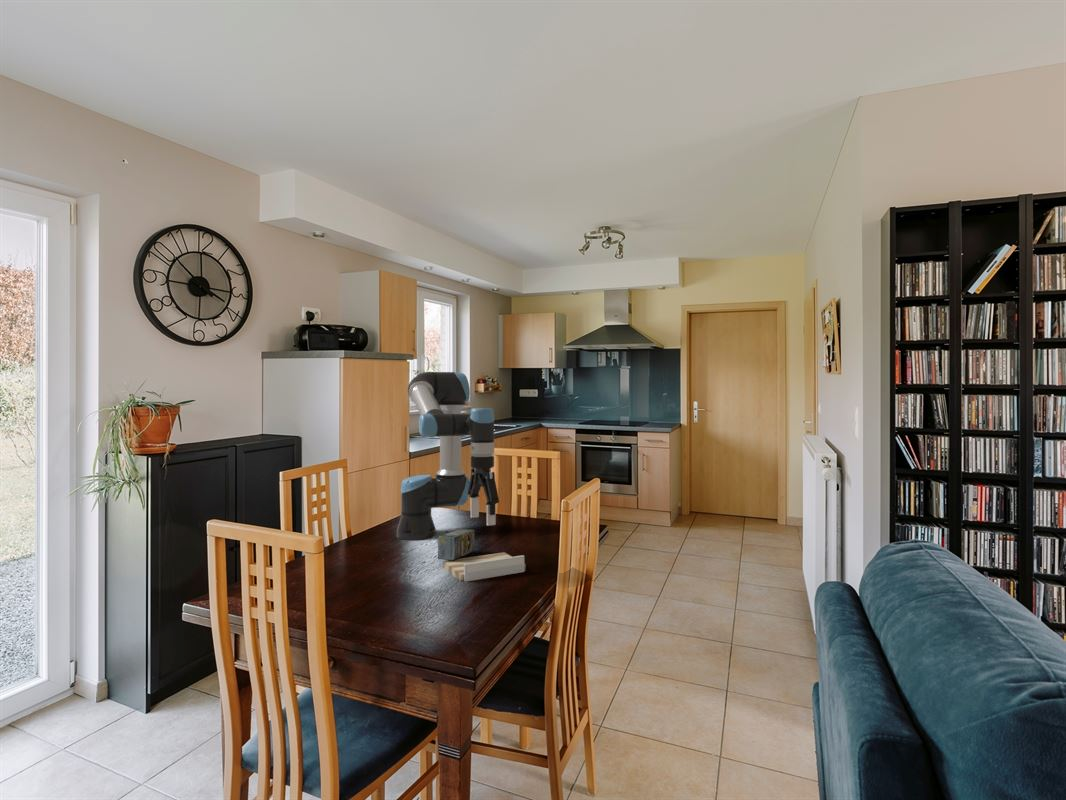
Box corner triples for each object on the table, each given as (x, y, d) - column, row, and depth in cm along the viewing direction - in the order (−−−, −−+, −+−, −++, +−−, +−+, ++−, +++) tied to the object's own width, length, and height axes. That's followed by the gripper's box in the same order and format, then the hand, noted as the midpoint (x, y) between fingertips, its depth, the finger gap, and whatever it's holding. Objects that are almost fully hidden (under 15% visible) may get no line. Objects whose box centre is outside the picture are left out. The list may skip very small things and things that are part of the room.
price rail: (463, 580, 165) (463, 564, 165) (522, 571, 175) (522, 555, 175) (465, 581, 164) (465, 565, 164) (524, 572, 174) (524, 556, 174)
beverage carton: (453, 561, 178) (434, 560, 179) (475, 552, 196) (457, 550, 198) (454, 536, 178) (436, 535, 180) (476, 529, 197) (459, 528, 199)
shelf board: (443, 567, 179) (443, 561, 179) (504, 558, 189) (504, 552, 189) (460, 581, 165) (460, 574, 165) (525, 570, 175) (525, 564, 175)
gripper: (458, 453, 188) (458, 515, 187) (487, 459, 166) (487, 529, 165) (478, 452, 191) (478, 513, 191) (509, 458, 169) (509, 527, 169)
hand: (482, 521), depth 178 cm, fingers open, 13 cm apart
